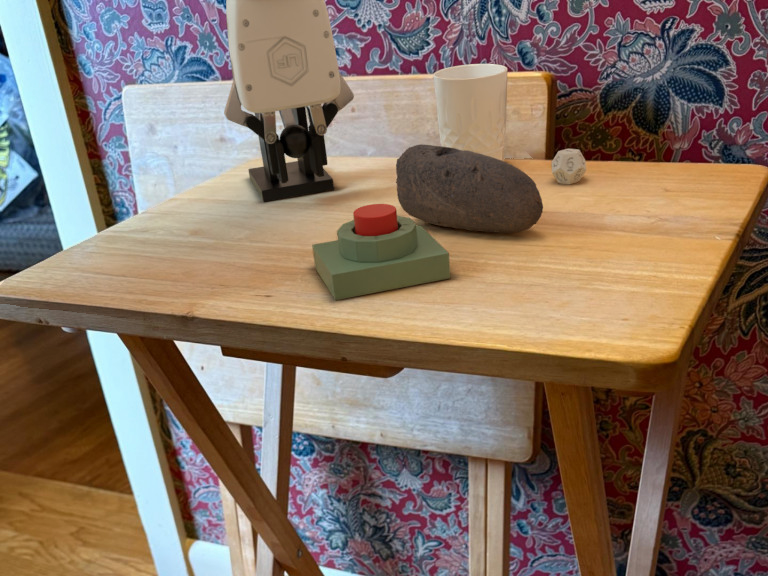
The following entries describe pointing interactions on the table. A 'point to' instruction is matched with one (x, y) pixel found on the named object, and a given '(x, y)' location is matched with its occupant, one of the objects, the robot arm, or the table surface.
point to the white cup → (472, 108)
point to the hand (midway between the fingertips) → (300, 175)
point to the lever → (293, 136)
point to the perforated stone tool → (466, 190)
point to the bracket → (289, 172)
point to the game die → (568, 166)
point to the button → (375, 220)
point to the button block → (380, 260)
